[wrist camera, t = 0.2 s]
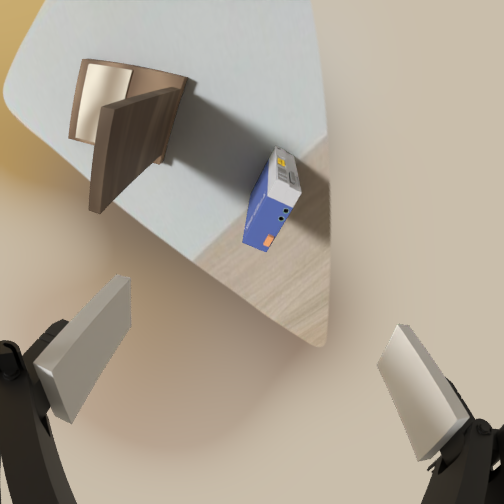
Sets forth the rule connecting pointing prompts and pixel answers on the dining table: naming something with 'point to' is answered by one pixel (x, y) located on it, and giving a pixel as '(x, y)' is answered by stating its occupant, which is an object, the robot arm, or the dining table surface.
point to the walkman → (272, 200)
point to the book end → (122, 122)
